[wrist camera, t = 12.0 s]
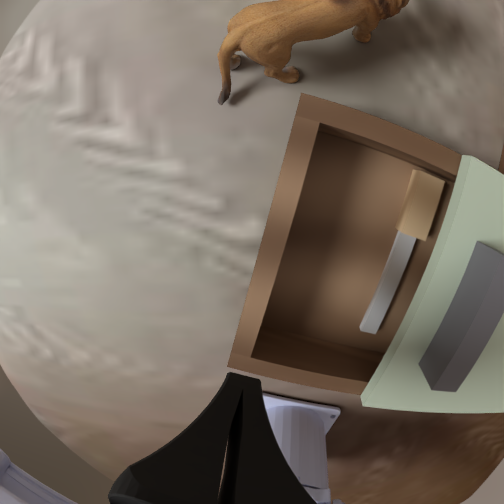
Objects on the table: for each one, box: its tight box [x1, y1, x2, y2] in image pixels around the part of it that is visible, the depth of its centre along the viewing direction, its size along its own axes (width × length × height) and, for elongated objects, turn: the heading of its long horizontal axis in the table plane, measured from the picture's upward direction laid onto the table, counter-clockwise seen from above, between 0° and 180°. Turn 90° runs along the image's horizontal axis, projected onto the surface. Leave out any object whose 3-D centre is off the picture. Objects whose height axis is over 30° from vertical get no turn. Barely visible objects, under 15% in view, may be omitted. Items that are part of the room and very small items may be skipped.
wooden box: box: [227, 93, 504, 395], centre depth 17 cm, size 23×20×5 cm
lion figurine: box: [217, 0, 409, 105], centre depth 12 cm, size 15×5×9 cm, turn 131°
